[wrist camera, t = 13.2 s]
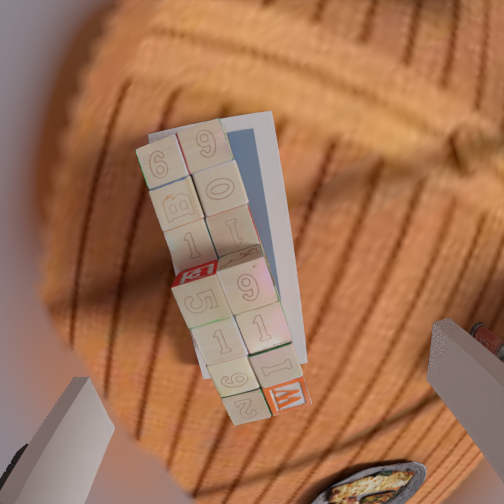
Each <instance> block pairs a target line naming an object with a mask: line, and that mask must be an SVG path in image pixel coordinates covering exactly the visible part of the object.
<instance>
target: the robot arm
mask: <svg viewBox="0 0 504 504" xmlns="http://www.w3.org/2000/svg"><path fill="white" fill-rule="evenodd" d="M426 380H427V381H428V383H429V384H430V385H431V386H432V388H433V389H434V390H435V391H436V393H437V394H438V395H439V396H440V398H441V399H442V400H443V401H444V403H445V404H446V405H447V407H448V408H449V409H450V410H451V412H452V413H453V414H454V416H455V417H456V418H457V420H458V421H459V422H460V424H461V425H462V426H463V427H464V429H465V430H466V431H467V433H468V434H469V435H470V437H471V438H472V439H473V441H474V442H475V444H476V445H477V446H478V448H479V449H480V450H481V452H482V453H483V454H484V456H485V457H486V459H487V460H488V461H489V463H490V464H491V466H492V467H493V468H494V470H495V471H496V473H497V474H498V475H499V477H500V478H501V480H502V481H503V483H504V363H503V362H502V361H501V360H499V359H498V358H497V357H496V356H495V355H494V354H492V353H491V352H490V351H489V350H488V349H487V348H485V347H484V346H483V345H482V344H481V343H479V342H478V341H477V340H476V339H475V338H473V337H472V336H471V335H470V334H468V333H467V332H466V331H465V330H464V329H462V328H461V327H460V326H459V325H457V324H456V323H455V322H454V321H452V320H451V319H450V318H446V319H443V320H440V321H437V322H434V323H433V330H432V340H431V349H430V357H429V365H428V372H427V379H426ZM114 429H115V427H114V425H113V423H112V422H111V420H110V418H109V416H108V414H107V412H106V410H105V408H104V406H103V404H102V402H101V400H100V398H99V396H98V394H97V392H96V390H95V388H94V386H93V384H92V382H91V379H90V377H74V378H73V379H72V381H71V382H70V384H69V385H68V387H67V388H66V389H65V391H64V392H63V394H62V395H61V397H60V398H59V399H58V401H57V402H56V404H55V405H54V407H53V408H52V410H51V411H50V413H49V414H48V416H47V417H46V419H45V420H44V422H43V423H42V425H41V426H40V428H39V429H38V431H37V432H36V434H35V435H34V437H33V438H32V440H31V441H30V443H29V444H26V445H25V446H23V447H22V448H21V449H20V450H19V451H17V453H16V454H15V456H14V457H13V459H12V461H11V464H9V465H8V467H7V469H6V472H4V473H3V475H2V477H1V478H0V504H85V501H86V498H87V495H88V493H89V490H90V488H91V485H92V483H93V480H94V478H95V475H96V473H97V470H98V467H99V465H100V463H101V460H102V458H103V455H104V453H105V451H106V448H107V446H108V443H109V441H110V439H111V436H112V434H113V432H114Z"/></svg>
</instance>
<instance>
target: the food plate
mask: <svg viewBox="0 0 504 504" xmlns="http://www.w3.org/2000/svg"><path fill="white" fill-rule="evenodd" d="M426 473H427V472H426V468H425V466H424V465H423V464H421V463H418V462H416V461H414V462H409V463H402V464H400V463H399V464H393V465H387V466H379V467H375V468H374V467H373V468H369V469H364V470H362V471H358V472H356V473H353V474H352V475H350V476H348V477H346V478H344V479H342V480H340V481H338V482H336V483H334V484H332V485H330V486H329V487H328V488H327V489H325V490H323V491H321V492H320V493H319V494H318V495H317V497H316V498H314V500H313V501H312V502H311V503H310V504H375V503H381V504H403V503H405V502H406V501H407V500H408V499H410V498H412V496H413V495H414V494H415V493H416V492H417V490H418V489H419V488H420V486H421V485H422V484H423V483H424V481H425V477H426ZM398 486H401V487H400V488H399V489H398V491H397V492H396V491H395V490H389V491H380V490H384V489H388V488H392V487H393V488H394V487H398ZM387 499H388V500H387ZM382 502H383V503H382Z"/></svg>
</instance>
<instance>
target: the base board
mask: <svg viewBox="0 0 504 504" xmlns="http://www.w3.org/2000/svg"><path fill="white" fill-rule="evenodd" d="M220 121H221V124H223V125H224V127H225V130H226V134H227V136H228V140H229V143H230V145H231V149H232V152H233V155H234V158H235V161H236V163H237V165H238V168H239V171H240V175H241V178H242V181H243V184H244V187H245V190H246V194H247V197H248V200H249V203H248V204H249V208H250V211H251V214H252V217H253V220H254V223H255V226H256V228H257V231H258V234H259V237H260V240H261V243H262V246H263V249H264V252H265V254H266V256H267V259H268V262H269V266H270V269H271V272H272V276H273V278H274V281H275V284H276V288H277V291H278V294H279V297H280V300H281V303H282V307H283V310H284V313H285V316H286V320H287V324H288V327H289V329H290V332H291V335H292V341H293V344H294V347H295V350H296V353H297V356H298V359H299V362H300V364H303V363H308V361H307V352H306V343H305V334H304V325H303V317H302V308H301V300H300V292H299V284H298V277H297V269H296V262H295V254H294V247H293V240H292V233H291V226H290V219H289V213H288V206H287V200H286V193H285V187H284V180H283V174H282V168H281V162H280V156H279V150H278V144H277V138H276V133H275V127H274V121H273V116H272V111H266V112H259V113H252V114H246V115H239V116H233V117H227V118H222V119H220ZM206 122H208V121H206ZM202 123H205V122H201V123H196V124H191V125H186V126H182V127H177V128H173V129H168V130H164V131H160V132H156V133H152V134H148V139H149V144H150V143H152V142H155V141H157V140H160V139H162V138H165V137H168V136H170V135H173V134H176V133H177V132H179V131H182V130H185V129H187V128H190V127H193V126H196V125H199V124H202ZM171 258H172V255H171ZM172 262H173V266H174V271H175V275H176V276H177V275H178V273H180V272H179V271H178V269H177V267H176V265H175V263H174V260H173V258H172ZM190 333H191V330H190ZM191 337H192V340H193V344H194V347H195V351H196V354H197V358H198V361H199V365H200V368H201V371H202V375H203V378H204V379H208V378H211V377H210V375H209V373H208V370H207V368H206V363H205V361H204V359H203V357H202V355H201V352H200V350H199V348H198V346H197V344H196V342H195V340H194V338H193V335H192V333H191Z"/></svg>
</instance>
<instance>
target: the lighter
mask: <svg viewBox="0 0 504 504" xmlns="http://www.w3.org/2000/svg"><path fill="white" fill-rule="evenodd" d="M470 335H471V336H472V337H473V338H475V339H476V340H477V341H478V342H479V343H481V344H482V345H483V346H484V347H485V348H487V349H488V350H489V351H490V352H491V353H492V354H494V355H495V356H496V357H497V358H498V359H499V360H501V361H502V362H503V363H504V341H503V340H502V339H501V338H499V337H498V336H497V335H495V334H494V333H493V332H491V331H490V330H489V329H487V328H486V326H485V325H484V324H482V323H481V322H478V323H476V324H474V325H473V327H472V328H471V331H470Z"/></svg>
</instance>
